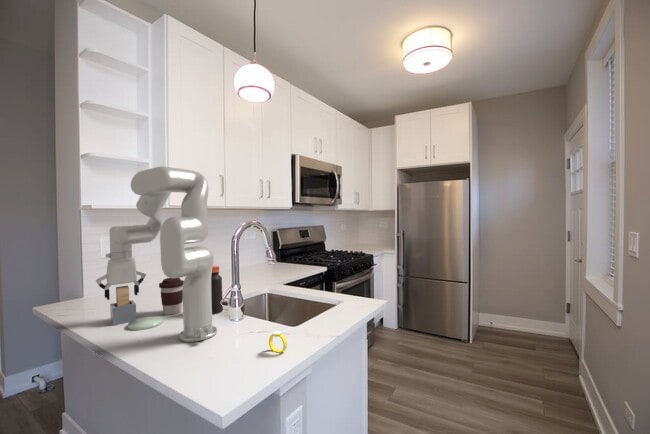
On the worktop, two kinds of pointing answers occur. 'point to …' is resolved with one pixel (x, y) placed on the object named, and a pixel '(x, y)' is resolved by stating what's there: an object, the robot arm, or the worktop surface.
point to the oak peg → (122, 295)
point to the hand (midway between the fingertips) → (122, 296)
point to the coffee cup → (171, 295)
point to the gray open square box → (123, 313)
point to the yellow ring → (279, 333)
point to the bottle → (216, 290)
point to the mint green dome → (145, 323)
